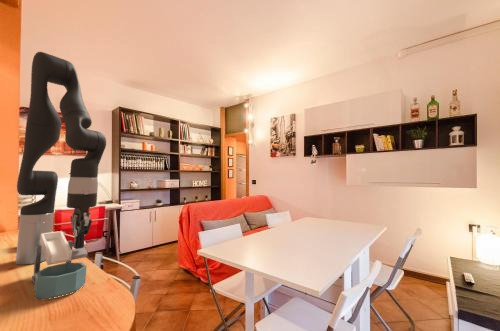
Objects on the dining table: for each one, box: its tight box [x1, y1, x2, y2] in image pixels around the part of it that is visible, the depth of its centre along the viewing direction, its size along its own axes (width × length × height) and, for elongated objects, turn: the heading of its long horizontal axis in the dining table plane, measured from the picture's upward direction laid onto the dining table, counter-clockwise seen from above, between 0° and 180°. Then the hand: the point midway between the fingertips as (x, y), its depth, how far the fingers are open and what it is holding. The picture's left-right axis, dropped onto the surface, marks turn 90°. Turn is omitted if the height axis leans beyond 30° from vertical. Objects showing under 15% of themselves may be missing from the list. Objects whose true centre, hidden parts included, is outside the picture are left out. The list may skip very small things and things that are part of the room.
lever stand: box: [31, 240, 74, 286], centre depth 69 cm, size 5×9×10 cm, turn 141°
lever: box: [40, 230, 88, 266], centre depth 70 cm, size 15×9×6 cm, turn 50°
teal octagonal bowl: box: [33, 262, 87, 300], centre depth 62 cm, size 10×10×6 cm
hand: (78, 247), depth 69 cm, fingers closed
